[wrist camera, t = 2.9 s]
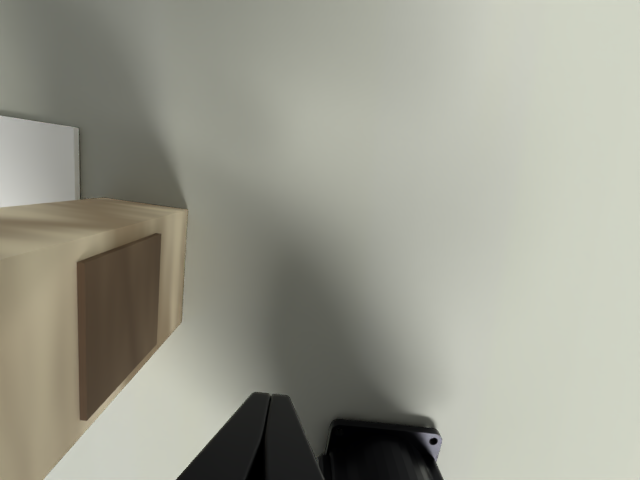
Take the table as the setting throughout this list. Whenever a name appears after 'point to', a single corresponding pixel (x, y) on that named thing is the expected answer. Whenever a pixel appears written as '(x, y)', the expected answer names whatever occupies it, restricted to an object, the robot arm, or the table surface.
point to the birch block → (79, 316)
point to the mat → (38, 162)
